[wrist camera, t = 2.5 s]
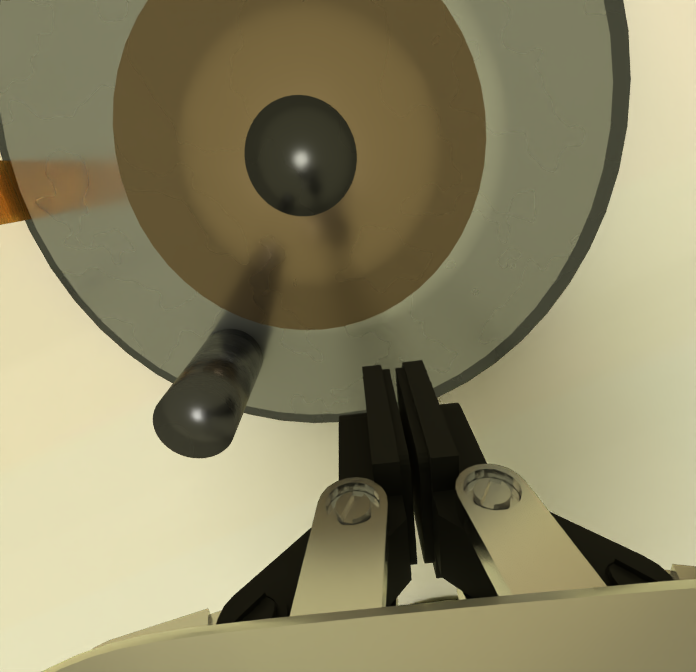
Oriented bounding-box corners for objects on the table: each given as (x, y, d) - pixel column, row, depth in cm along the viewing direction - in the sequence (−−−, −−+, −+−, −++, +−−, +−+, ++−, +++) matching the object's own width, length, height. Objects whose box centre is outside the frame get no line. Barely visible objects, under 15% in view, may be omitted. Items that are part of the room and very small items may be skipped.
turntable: (661, 221, 17) (844, 255, 11) (275, 460, 22) (248, 584, 15) (386, -426, 11) (443, -1200, 5) (-81, 89, 15) (-378, 39, 9)
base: (696, 227, 19) (829, 251, 14) (274, 483, 24) (256, 571, 19) (401, -515, 12) (448, -1069, 6) (-121, 82, 17) (-332, 46, 11)
